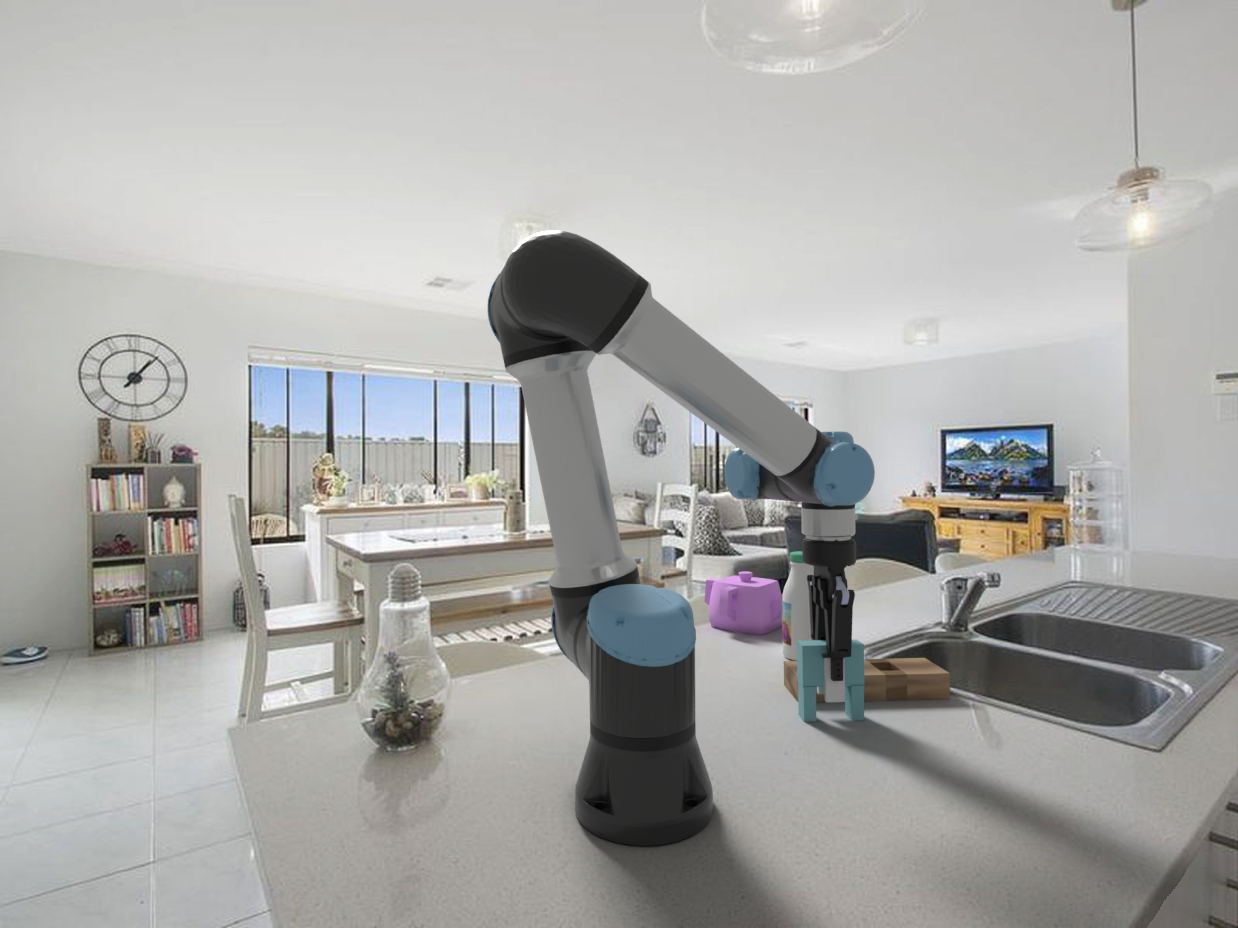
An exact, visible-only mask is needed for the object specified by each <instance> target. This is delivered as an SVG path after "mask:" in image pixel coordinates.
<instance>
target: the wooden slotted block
mask: <svg viewBox="0 0 1238 928" xmlns="http://www.w3.org/2000/svg"><path fill="white" fill-rule="evenodd" d="M783 685H784V687H785V688H786V689H787V690H788V691H789V693H790V695H792V697H793V698H794V699H795V700H796V702H798V681H797V661H795V660H783ZM950 699H951V673H950V672H949V671H947V670H945V669H944V668H942V667H940V666H939V665H937V664H935V662H934V663H933V662H932V661H931V660H929V659H927V658H925V657H904V658H903V657H900V658H899V657H898V658H869V659H868V658H864V702H868V701H869V702H873V701H874V702H876V701H877V702H879V701H910V700H911V701H912V700H913V701H914V700H915V701H916V700H917V701H918V700H950ZM816 703H827V702H826V701H825V694H818V693H817V687H816Z"/></svg>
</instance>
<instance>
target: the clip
mask: <svg viewBox="0 0 1238 928" xmlns="http://www.w3.org/2000/svg"><path fill="white" fill-rule="evenodd" d="M822 653H827V649H826V640H810V641H797V681H798V701H797V702H798V703H797V704H798V716H799V717H800V718H801V720H802V722H804V723H807V722H809V723H810V722H817V702H816V687H824V658H823V657H822ZM864 659H865V644H864V643H862V642H861V641H860V640H858V639H857V638H856V639H852V647H851V657H846V658H844V661H845V702H844V713H845V715H846V716H847V717H848V718H849V719H850V720H851V721H865V701H864Z"/></svg>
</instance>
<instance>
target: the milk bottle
mask: <svg viewBox="0 0 1238 928" xmlns="http://www.w3.org/2000/svg"><path fill="white" fill-rule="evenodd" d="M789 561H790V562H789V564H790V565H791V566H790V567H791V568H790V571H789V575H788V578H787V580H786V583H785V585H784V587H783V592H782V593H783V599H782V626H781V627H782V629H781V630H782V632H781V633H782V654H783V656H784V657H785V658H787V659H789V660H790V661H797V641H810V640H812V639H811V627H810V605H809V588H808V582H807V575H814V566H812V565H808V564H806V563H804V562H803V560H802V551H800V550H799V551H792V552H789Z"/></svg>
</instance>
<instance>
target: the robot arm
mask: <svg viewBox="0 0 1238 928" xmlns="http://www.w3.org/2000/svg"><path fill="white" fill-rule="evenodd" d="M652 291H653V290H652V285H651V282H649V281H648V280H646V278H644V277H642V275H640V274H639V273H638V272H637V271H635V270H634V269H633V268H632V267H630V266H629V265H628V264H627V263H625V262H624V261H623V260H621V259H620V258H618V257H617V256H616V255H614V254H613V253H611V251H608V250H607V249H606V248H604V247H602V246H601V245H599V244H597V243H596V242H594V241H592V240H590V239H588V238H586V237H583V236H581V235H580V234H577V233H573V232H569V231H565V230H559V229H558V230H556V229H554V230H553V229H552V230H545V231H540V232H536V233H534V234H531V235H529V236H528V237H527V238H524V239H523V240H521V241H520V242H519V243H518V245H516V247H514V248H513V250H512V251H511V253H510V255H509V256H508V257H507V259H506V261H505V264H504V267H503V268H502V269H501V271H500V273H499V274H498V275H497V276H496V278H495V280H494V281H493V284H492V285H491V287H490V291H489V296H488V299H487V317H488V322H489V326H490V329H491V331H492V333H493V335H494V337H495V338H496V340H497V341H498V343H499V345H500V350H501V355H502V359H503V364H504V369H505V372H506V373H508V374H509V375H510V376H512V377H513V378H514V379H516V380H517V381H518V382H519V383H520V386H521V391H522V392H521V393H522V396H523V400H524V401H523V402H524V406H525V412H526V416H527V421H528V425H529V432H530V436H531V439H532V440H531V441H532V446H533V450H534V456H535V461H536V465H537V470H538V475H539V479H540V485H541V491H542V495H543V499H544V506H545V510H546V515H547V519H548V525H549V530H550V535H551V539H552V543H553V549H554V554H555V559H556V564H557V566H556V568H555V570H554V571H553V572H552V574H551V576H550V577H549V579H548V585H549V590H550V595H551V599H552V604H553V605H552V608H551V612H550V613H551V615H550V618H551V619H550V624H551V631H552V634H553V637H554V640H555V642H556V645H557V647H558V648H559V650H560V651H561V653H562V655H564V656H565V657H566V658H567V660H569V661H570V662H571V663H573V665H574V666H575V667H576V668H577V669H578V670H579V671H580V673H582V674H583V676H584V677H585V678H586V679H587V681H588V685H589V687H588V688H589V694H588V695H589V726H590V727H589V741H588V743H587V747H586V751H585V753H584V756H583V760H582V763H581V766H580V767H581V768H580V770H579V772H578V773H579V774H578V777H577V780H576V784H575V789H574V798H575V799H574V802H575V803H574V805H575V807H574V809H575V816H576V817H577V819H578V822H579V823H580V824H581V825H582V826H583V827H585V829H587V830H588V831H589V832H590V833H592V834H594V835H595V836H598V837H600V838H602V839H604V840H606V841H607V840H608V841H611V842H614V843H618V844H624V845H629V846H630V845H632V846H659V845H667V844H671V843H675V842H679V841H683V840H685V839H687V838H689V837H691V836H693V835H695V834H697V833H699V832H701V830H703V829H704V828H705V827H707V825H708V824H709V822H710V821H711V819H712V818H713V817H712V816H713V813H714V797H713V796H714V792H713V791H714V790H713V785H712V781H711V779H710V776H709V773H708V770H707V767H706V763H705V760H704V757H703V754H702V751H701V749H700V745H699V742H698V739H697V734H696V728H697V727H696V726H697V725H696V640H697V629H696V626H695V621H694V620H695V618H694V612H693V608H692V606H691V604H690V602H689V601H688V600H687V599H686V597H684V596H683V595H681V593H678V592H676V591H674V590H672V589H670V588H666V587H656V586H655V585H653V584H652V585H651V584H642V583H641V577H640V573H639V568H638V564H637V563H638V562H637V561H636V560H635V559H633V558H632V557H630V556H629V555H628V554H626V553H624V551H623V547H622V543H621V542H622V541H621V537H620V532H619V527H618V521H617V515H616V511H615V506H614V500H613V497H612V491H611V486H610V480H609V476H608V470H607V466H606V460H605V455H604V450H603V445H602V440H601V434H600V429H599V424H598V419H597V415H596V410H595V403H594V400H593V394H592V389H591V384H590V379H589V374H588V370H589V366H590V365H591V363H592V362H593V360H594V359H595V357H596V356H597V355H598V356H600V355H607V354H611V355H613V357H615V358H617V359H618V360H620V361H621V362H622V363H624V364H625V365H627V366H628V367H629V368H630V369H632V371H634V372H635V373H637V374H638V375H640V376H641V377H643V378H644V379H645V380H646V381H648V382H649V383H651V385H653V386H655V387H656V388H657V389H659V390H660V391H661V392H663V393H664V394H665V395H666V396H668V397H669V398H671V399H672V400H673V401H675V402H676V403H678V404H679V406H681V407H683V408H684V409H685V410H687V411H688V412H689V413H691V414H692V415H694V416H695V418H698V419H699V420H700V421H701V422H702V423H705V424H706V425H707V426H708V427H710V428H711V429H713V431H715V432H716V433H718V434H719V435H720V436H722V437H723V438H724V439H726V440H727V441H728V442H730V443H731V444H733V446H735V448H733V449H731V451H730V452H729V453H728V455H727V457H726V460H725V464H724V482H725V485H726V488H727V490H728V492H729V494H730V495H731V496H732V497H734V498H735V499H737V500H751V501H757V500H774V501H783V502H784V501H785V502H793V503H794V502H797V503H799V502H800V503H801V513H800V514H801V519H800V520H801V534H803V536H804V535H805V537H803V539H802V540H801V545H802V546H801V547H802V548H801V549H802V560H803V562H804V563H806V564H808V565H812V566H814V575H807V582H808V588H809V605H810V627H811V639H812V640H826V649H827V653H822V657H823V658H824V687H817V693H818V694H825V701H826V702H825V703H845V661H844V658H846V657H851V647H852V640H853V639H852V638H853V614H854V613H853V606H854V602H855V596H856V593H855V590H854V589H848V580H847V576H846V571H845V569H846V568H847V567H851V566H854V565H855V564H856V562H857V541H856V540H855V539H854V538H852V537H853V536H855V534H856V521H857V520H859V515H858V514H857V513H856V504H857V503H859V502H861V501H862V500H864V499H865V498H866V497H867V496H868V495H869V493H870V491H871V489H872V487H873V485H874V481H875V473H876V471H875V464H874V461H873V459H872V457H871V455H870V454H869V452H868V451H867V449H865V448H864V447H863V446H861V445H860V444H857V443H855V441H854V437H853V435H852V434H851V433H850V432H848V431H836V430H835V431H820V430H819V429H818V428H817V427H815V426H814V425H813V424H812V423H810V422H809V421H808V420H807V419H805V418H804V417H803V416H801V415H800V414H799V413H798V412H796V411H795V410H794V409H793V408H791V407H790V406H789V405H788V404H787V403H785V402H784V401H783V400H782V399H780V398H779V397H778V396H776V394H774V393H773V392H772V391H770V390H769V389H768V388H766V387H765V386H764V385H763V384H762V383H760V382H759V381H758V380H757V379H755V378H754V377H752V376H751V375H750V374H749V373H748V372H746V371H745V370H744V369H743V368H741V367H740V366H739V365H738V364H737V363H735V362H734V361H732V360H731V359H730V358H729V357H728V356H726V355H725V354H724V353H722V352H721V351H720V350H719V349H718V348H716V346H714V345H713V344H712V343H710V342H709V341H707V340H706V339H705V338H704V337H703V336H702V335H700V334H699V333H697V332H696V331H695V330H694V329H692V327H690V326H689V325H688V324H686V323H685V322H684V321H683V320H681V319H680V318H679V317H678V316H676V315H675V314H674V313H673V312H671V310H669V309H667V308H666V306H664V305H662V303H660V302H659V301H657V299H655V298H654V297H653V292H652Z"/></svg>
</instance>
